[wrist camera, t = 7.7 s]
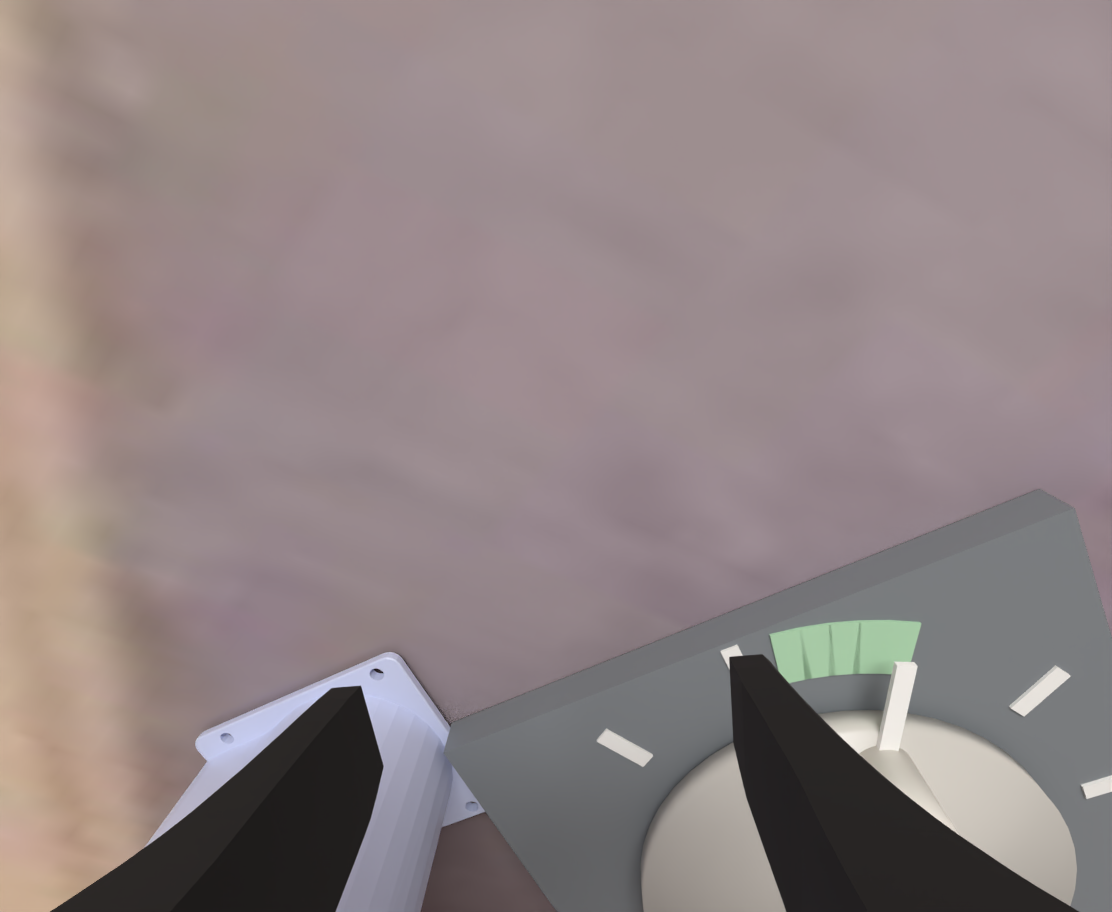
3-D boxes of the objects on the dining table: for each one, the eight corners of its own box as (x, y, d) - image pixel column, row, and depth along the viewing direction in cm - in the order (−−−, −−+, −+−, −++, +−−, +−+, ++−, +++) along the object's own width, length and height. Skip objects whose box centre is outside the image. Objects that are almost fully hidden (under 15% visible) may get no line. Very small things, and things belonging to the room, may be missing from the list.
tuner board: (682, 1053, 30) (687, 1099, 28) (451, 722, 24) (442, 757, 22) (1172, 928, 26) (1211, 974, 24) (1039, 488, 20) (1079, 510, 18)
